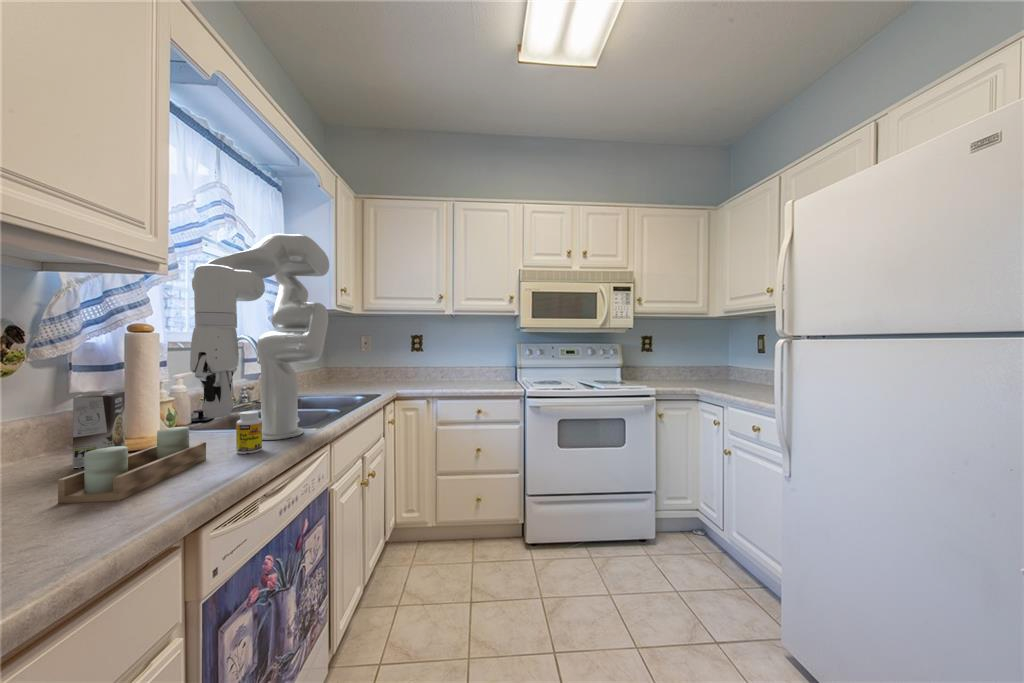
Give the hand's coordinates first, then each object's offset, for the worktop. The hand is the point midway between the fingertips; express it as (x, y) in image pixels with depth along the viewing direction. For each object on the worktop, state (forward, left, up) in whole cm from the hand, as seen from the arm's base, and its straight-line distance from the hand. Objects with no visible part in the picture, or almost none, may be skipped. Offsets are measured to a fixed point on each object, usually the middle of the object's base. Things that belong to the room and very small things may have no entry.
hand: (217, 402), depth 87 cm
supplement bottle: (-13, 0, -15) cm, 20 cm away
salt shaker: (0, 0, -3) cm, 3 cm away
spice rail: (+5, -11, -15) cm, 19 cm away
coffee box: (-8, -30, -15) cm, 35 cm away
